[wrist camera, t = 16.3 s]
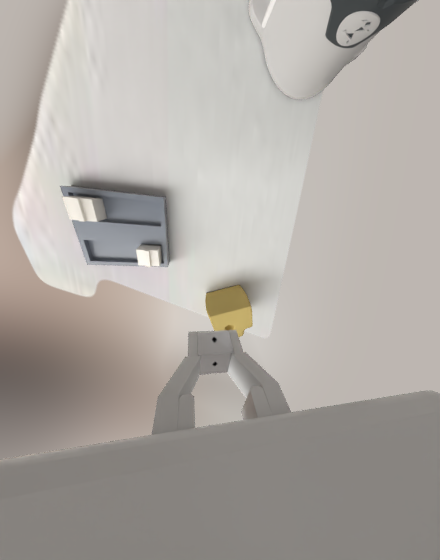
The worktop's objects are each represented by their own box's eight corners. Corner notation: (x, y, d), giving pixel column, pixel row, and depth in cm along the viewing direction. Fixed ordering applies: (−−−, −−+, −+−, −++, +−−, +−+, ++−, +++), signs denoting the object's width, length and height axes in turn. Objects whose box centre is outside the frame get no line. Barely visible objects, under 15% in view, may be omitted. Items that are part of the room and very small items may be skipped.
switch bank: (71, 186, 27) (59, 185, 25) (165, 196, 30) (163, 197, 28) (94, 259, 34) (87, 264, 32) (169, 262, 37) (167, 267, 35)
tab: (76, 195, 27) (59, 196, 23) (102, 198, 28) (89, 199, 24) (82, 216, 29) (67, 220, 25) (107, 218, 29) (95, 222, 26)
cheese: (244, 309, 49) (255, 334, 41) (211, 317, 49) (215, 344, 40) (240, 282, 44) (252, 305, 35) (203, 291, 43) (206, 317, 35)
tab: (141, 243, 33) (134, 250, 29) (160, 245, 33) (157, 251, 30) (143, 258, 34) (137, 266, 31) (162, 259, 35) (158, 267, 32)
